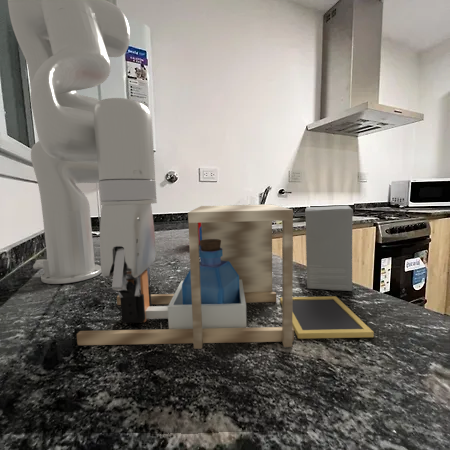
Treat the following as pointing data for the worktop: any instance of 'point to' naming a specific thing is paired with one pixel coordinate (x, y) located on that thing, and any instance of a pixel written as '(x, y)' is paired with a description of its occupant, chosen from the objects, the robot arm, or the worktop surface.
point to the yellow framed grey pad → (326, 319)
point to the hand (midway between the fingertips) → (137, 315)
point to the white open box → (182, 314)
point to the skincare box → (329, 247)
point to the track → (186, 334)
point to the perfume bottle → (213, 277)
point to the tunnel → (244, 253)
